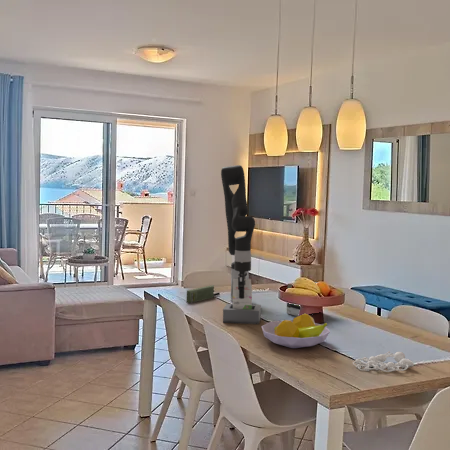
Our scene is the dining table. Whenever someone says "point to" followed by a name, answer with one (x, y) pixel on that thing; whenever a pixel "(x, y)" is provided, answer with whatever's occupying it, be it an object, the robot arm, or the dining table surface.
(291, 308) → the tea box
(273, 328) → the fruit bowl
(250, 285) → the ink box
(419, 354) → the dining table surface
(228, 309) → the desk holder
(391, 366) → the tangled rod sculpture
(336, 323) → the dining table surface
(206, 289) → the handheld radio
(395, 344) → the dining table surface
